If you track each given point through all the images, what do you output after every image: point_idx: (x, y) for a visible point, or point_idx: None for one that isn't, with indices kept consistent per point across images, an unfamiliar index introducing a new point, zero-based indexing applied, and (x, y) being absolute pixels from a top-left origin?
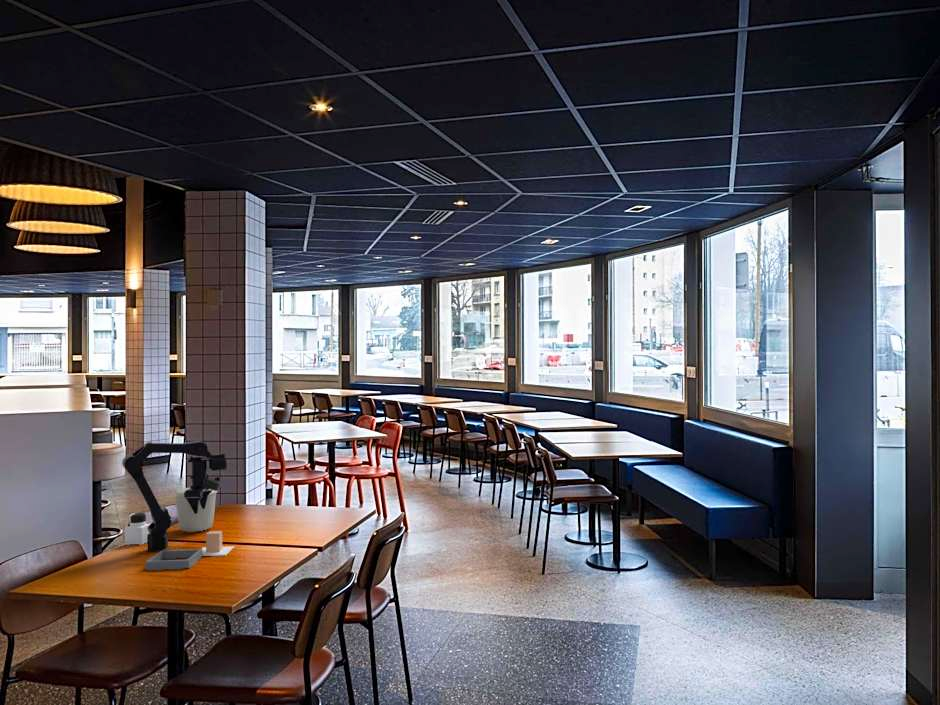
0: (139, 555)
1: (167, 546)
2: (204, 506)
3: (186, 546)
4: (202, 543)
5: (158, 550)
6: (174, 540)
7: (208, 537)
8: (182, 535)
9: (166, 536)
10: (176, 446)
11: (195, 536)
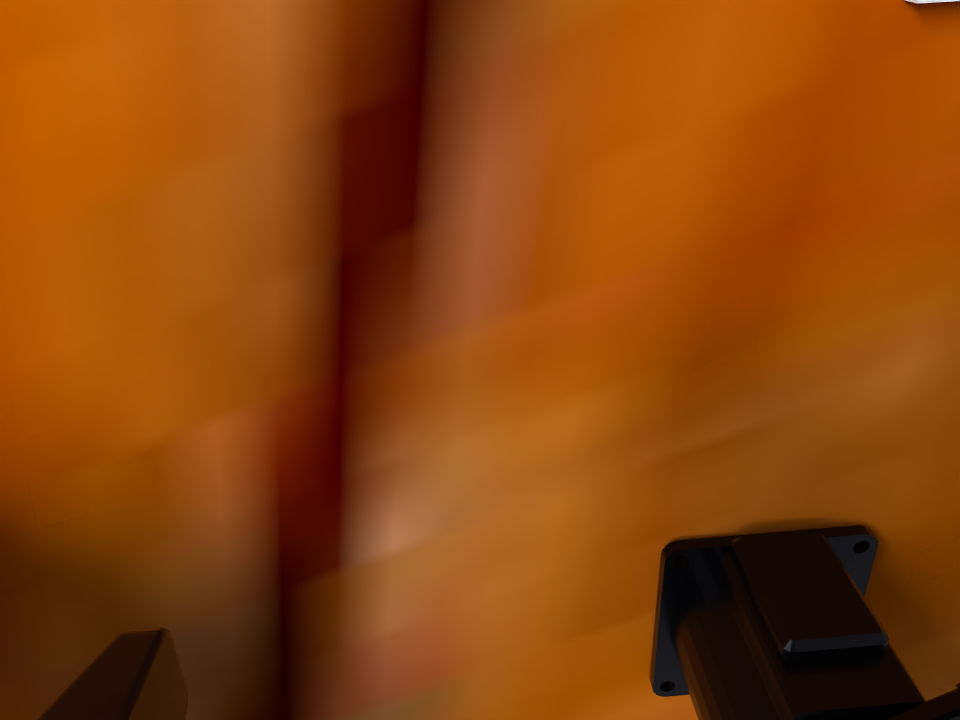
0: (955, 663)
1: (758, 539)
2: (142, 713)
3: (661, 339)
4: (504, 158)
5: (868, 569)
6: (297, 604)
7: None
8: (10, 617)
9: (800, 658)
10: None
11: (36, 439)
